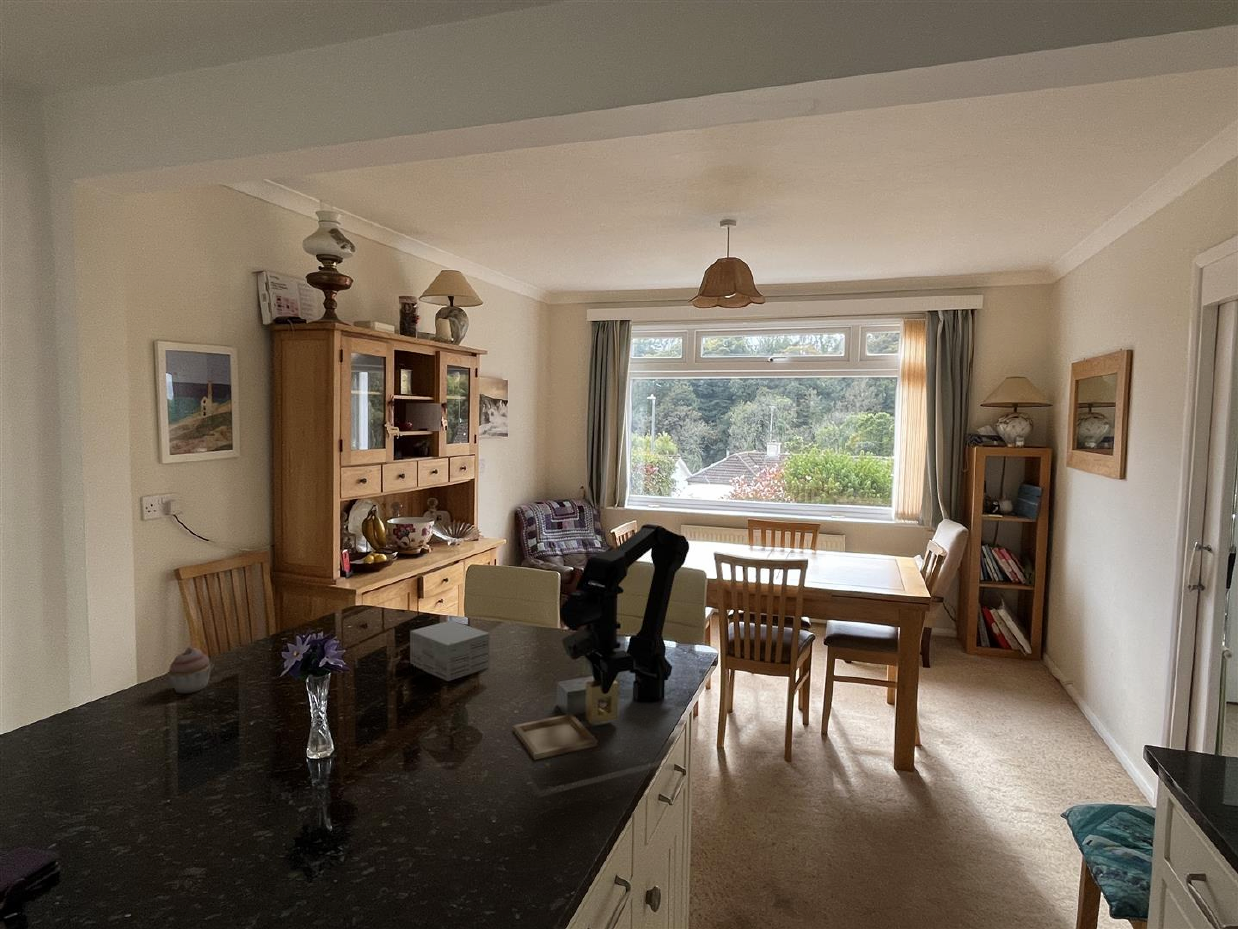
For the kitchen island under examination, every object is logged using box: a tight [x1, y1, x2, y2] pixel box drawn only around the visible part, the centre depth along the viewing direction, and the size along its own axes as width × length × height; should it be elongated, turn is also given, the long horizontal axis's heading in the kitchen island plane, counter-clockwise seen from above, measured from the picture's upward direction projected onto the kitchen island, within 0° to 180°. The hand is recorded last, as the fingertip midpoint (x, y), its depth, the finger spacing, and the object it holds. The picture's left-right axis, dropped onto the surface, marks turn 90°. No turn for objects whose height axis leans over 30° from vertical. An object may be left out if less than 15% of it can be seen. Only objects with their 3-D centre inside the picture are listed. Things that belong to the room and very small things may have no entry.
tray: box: [512, 714, 598, 761], centre depth 134 cm, size 13×13×2 cm
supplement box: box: [409, 620, 491, 682], centre depth 172 cm, size 17×13×9 cm
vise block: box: [556, 675, 608, 716], centre depth 145 cm, size 11×14×6 cm
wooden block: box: [584, 679, 619, 725], centre depth 139 cm, size 6×3×8 cm, turn 116°
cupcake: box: [166, 646, 215, 694], centre depth 155 cm, size 9×9×10 cm
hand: (601, 690), depth 139 cm, fingers closed on wooden block, 3 cm apart
